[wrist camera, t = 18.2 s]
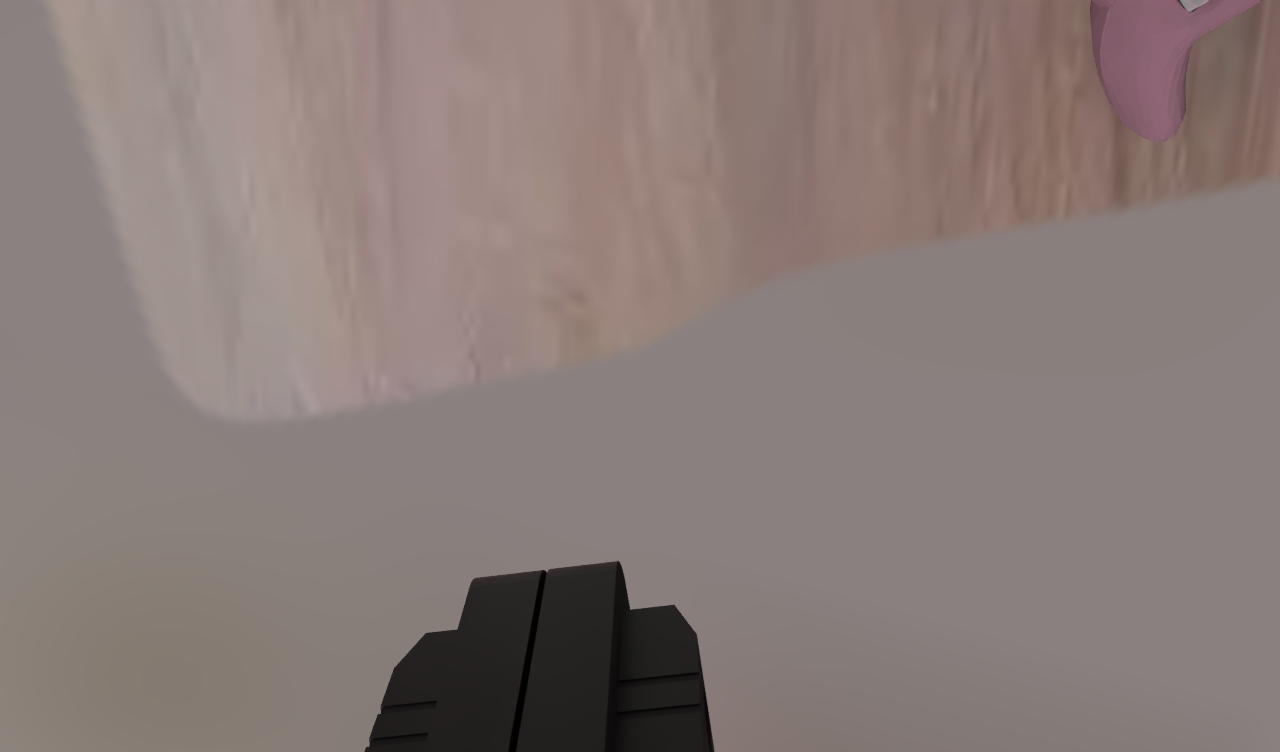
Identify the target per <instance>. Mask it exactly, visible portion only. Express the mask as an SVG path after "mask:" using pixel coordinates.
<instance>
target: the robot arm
mask: <svg viewBox="0 0 1280 752" xmlns="http://www.w3.org/2000/svg"><path fill="white" fill-rule="evenodd" d="M369 741H370V746H369V747H366V749H365V752H714V745H713V739H712V732H711V726H710V719H709V712H708V706H707V700H706V692H705V686H704V680H703V673H702V666H701V660H700V653H699V646H698V639H697V634H696V633H695V632H694V630H693V629H692V628H691V626H690V625H689V624H688V623H687V621H686V620H685V618H684V617H683V616H682V614H681V613H680V612H679V610H678V609H677V608H676V607H675V605H669V606H659V607H651V608H642V609H633V610H630V606H629V600H628V594H627V589H626V583H625V578H624V574H623V570H622V566H621V564H620V562H619V561H617V562H607V563H599V564H590V565H581V566H573V567H564V568H555V569H549V570H548V572H546V571H545V570H540V571H532V572H523V573H516V574H506V575H497V576H489V577H480V578H475V579H473V581H472V582H471V585H470V588H469V592H468V595H467V598H466V602H465V605H464V609H463V612H462V616H461V619H460V623H459V627H458V630H449V631H441V632H432V633H426V634H425V635H424V636H423V637H422V638H421V639H420V640H419V641H418V642H417V644H416V645H415V646H414V647H413V648H412V649H411V650H410V651H409V653H408V654H407V655H406V656H405V657H404V658H403V659H402V660H401V661H400V662H399V663H398V665H397V666H396V667H395V668H394V670H393V673H392V676H391V679H390V682H389V684H388V687H387V690H386V693H385V695H384V698H383V701H382V704H381V714H378V715H377V718H376V721H375V724H374V726H373V729H372V733H371V735H370V738H369Z"/></svg>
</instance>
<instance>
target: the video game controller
mask: <svg viewBox="0 0 1280 752" xmlns="http://www.w3.org/2000/svg"><path fill="white" fill-rule="evenodd" d="M1260 1H1261V0H1091V6H1090V16H1091V29H1092V41H1093V52H1094V57H1095V62H1096V66H1097V71H1098V76H1099V78H1100V81H1101V83H1102V86H1103V89H1104V91H1105V94H1106V96H1107V98H1108V100H1109V102H1110V103H1111V105H1112V107H1113V108H1114V110H1115V112H1116V114H1117V115H1118V117H1119V119H1120V120H1121V121H1122V122H1123V123H1124V124H1125V125H1126V126H1127V127H1128V128H1129V129H1131V130H1132V131H1134V132H1135V133H1137V134H1138V135H1139V136H1141V137H1142V138H1145V139H1148V140H1151V141H1159V142H1161V141H1164V140H1167V139H1169V138H1171V137H1173V136H1174V135H1175V134H1176V132H1177V130H1178V128H1179V127H1180V125H1181V123H1182V121H1183V118H1184V114H1185V111H1186V100H1185V84H1186V70H1187V65H1188V59H1189V53H1190V50H1191V47H1192V45H1193V43H1194V42H1195V41H1196V40H1197V39H1198V38H1200V37H1201V36H1203V35H1204V34H1206V33H1208V32H1210V31H1211V30H1213V29H1215V28H1216V27H1218V26H1220V25H1222V24H1223V23H1225V22H1227V21H1229V20H1230V19H1232V18H1234V17H1236V16H1237V15H1239V14H1241V13H1243V12H1244V11H1246V10H1248V9H1249V8H1251V7H1252V6H1254V5H1255V4H1257V3H1258V2H1260Z"/></svg>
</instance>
